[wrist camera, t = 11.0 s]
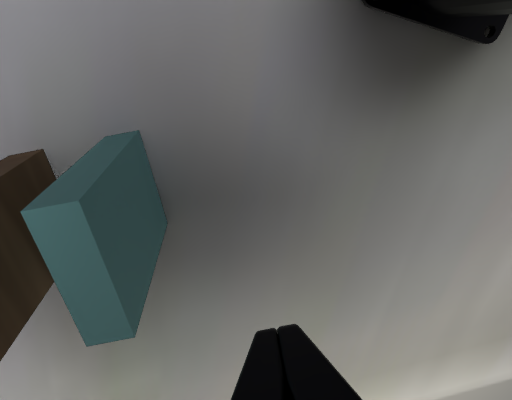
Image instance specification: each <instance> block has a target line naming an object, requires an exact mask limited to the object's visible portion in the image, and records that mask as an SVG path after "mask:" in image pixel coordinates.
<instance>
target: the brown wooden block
mask: <svg viewBox="0 0 512 400" xmlns="http://www.w3.org/2000/svg"><path fill="white" fill-rule="evenodd" d="M54 181H56V178H55V175H54V173H53V171H52V169H51V166H50V164H49V162H48V159H47V157H46V155H45V152H44V150H43V149H41V150H36V151H30V152H25V153H20V154H15V155H10V156H8V157H6V158H4V159H2V160H1V161H0V361H1V360H2V358H3V357H4V355H5V354H6V352H7V351H8V349H9V348H10V346H11V345H12V343H13V342H14V340H15V339H16V337H17V336H18V334H19V333H20V332H21V330H22V329H23V327H24V326H25V324H26V323H27V321H28V320H29V318H30V317H31V315H32V314H33V312H34V311H35V309H36V308H37V306H38V305H39V303H40V302H41V301H42V299H43V298H44V296H45V295H46V293H47V292H48V290H49V289H50V287H51V286H52V284H53V283H54V279H53V277H52V275H51V273H50V271H49V269H48V267H47V265H46V263H45V261H44V259H43V257H42V255H41V253H40V251H39V249H38V247H37V245H36V243H35V241H34V239H33V237H32V235H31V233H30V231H29V229H28V227H27V225H26V222H25V220H24V218H23V216H22V214H21V212H20V211H22V210H23V209H24V208H25V207H26V206H27V205H28V204H29V203H31V202H32V201H33V200H34V199H35V198H36V197H37V196H39V195H40V194H41V193H42V192H43V191H44V190H45V189H46V188H48V187H49V186H50V185H51V184H52V183H53V182H54Z"/></svg>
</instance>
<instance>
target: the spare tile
mask: <svg viewBox="0 0 512 400" xmlns="http://www.w3.org/2000/svg"><path fill="white" fill-rule="evenodd" d="M20 212H21V214H22V216H23V218H24V220H25V222H26V225H27V227H28V229H29V231H30V233H31V235H32V237H33V239H34V241H35V243H36V245H37V247H38V249H39V251H40V253H41V255H42V257H43V259H44V261H45V263H46V265H47V267H48V269H49V271H50V273H51V275H52V277H53V279H54V281H55V283H56V285H57V287H58V290H59V292H60V294H61V296H62V298H63V300H64V302H65V304H66V306H67V308H68V310H69V312H70V314H71V316H72V318H73V320H74V322H75V324H76V326H77V328H78V330H79V332H80V334H81V336H82V338H83V340H84V342H85V344H86V346H92V345H97V344H103V343H108V342H113V341H118V340H123V339H129V338H134V337H135V335H136V332H137V328H138V325H139V321H140V318H141V314H142V311H143V307H144V304H145V300H146V297H147V293H148V290H149V286H150V283H151V279H152V276H153V272H154V269H155V265H156V262H157V258H158V255H159V251H160V248H161V244H162V241H163V237H164V234H165V230H166V227H167V220H166V217H165V213H164V210H163V207H162V204H161V200H160V197H159V194H158V191H157V187H156V184H155V181H154V178H153V174H152V171H151V168H150V165H149V161H148V158H147V155H146V152H145V148H144V145H143V142H142V139H141V135H140V132H139V130H138V131H133V132H127V133H122V134H117V135H111V136H106V137H104V138H103V139H102V140H101V141H100V142H99V143H97V144H96V145H95V146H94V147H93V148H92V149H91V150H90V151H88V152H87V153H86V154H85V155H84V156H83V157H82V158H80V159H79V160H78V161H77V162H76V163H75V164H74V165H73V166H71V167H70V168H69V169H68V170H67V171H66V172H65V173H63V174H62V175H61V176H60V177H59V178H58V179H57V180H56V181H54V182H53V183H52V184H51V185H50V186H49V187H48V188H46V189H45V190H44V191H43V192H42V193H41V194H40V195H39V196H37V197H36V198H35V199H34V200H33V201H32V202H31V203H29V204H28V205H27V206H26V207H25V208H24V209H23V210H22V211H20Z"/></svg>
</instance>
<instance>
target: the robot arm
mask: <svg viewBox="0 0 512 400" xmlns="http://www.w3.org/2000/svg"><path fill="white" fill-rule="evenodd" d="M361 1H362V2H363V4H364V5H365V6H367V7H369V8H372V9H375V10H378V11H381V12H385V13H388V14H391V15H394V16H397V17H400V18H403V19H406V20H409V21H412V22H415V23H418V24H421V25H424V26H427V27H430V28H433V29H437V30H440V31H443V32H446V33H449V34H452V35H455V36H458V37H461V38H464V39H467V40H470V41H473V42H476V43H482V44H489V43H492V42H494V41H495V40H496V39H497V38H498V36H499V35H500V33H501V31H502V29H503V27H504V24H505V22H506V20H507V18H508V16H509V14H512V0H361ZM486 27H489V29H490V31H489V34H488V35H487V36H486V37H485V35H484V31H485V29H486ZM277 333H278V334H277ZM231 400H362V399H361V398H360V396H359V395H358V394H357V393H356V392H355V391H354V389H353V388H352V387H351V386H350V385H349V384H348V383H347V381H346V380H345V379H344V378H343V377H342V376H341V374H340V373H339V372H338V371H337V370H336V369H335V367H334V366H333V365H332V364H331V363H330V362H329V361H328V359H327V358H326V357H325V356H324V355H323V354H322V352H321V351H320V350H319V349H318V348H317V347H316V345H315V344H314V343H313V342H312V341H311V340H310V338H309V337H308V336H307V335H306V334H305V333H304V332H303V330H302V329H301V328H300V327H299V326H298V325H297V324H291V325H286V326H280V327H279V328H278V329H277V330H276V329H275V328H270V329H265V330H260V331H257V332H256V334H255V336H254V339H253V341H252V344H251V347H250V349H249V352H248V355H247V357H246V360H245V363H244V366H243V368H242V371H241V374H240V376H239V379H238V382H237V384H236V387H235V390H234V393H233V395H232V398H231Z"/></svg>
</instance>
